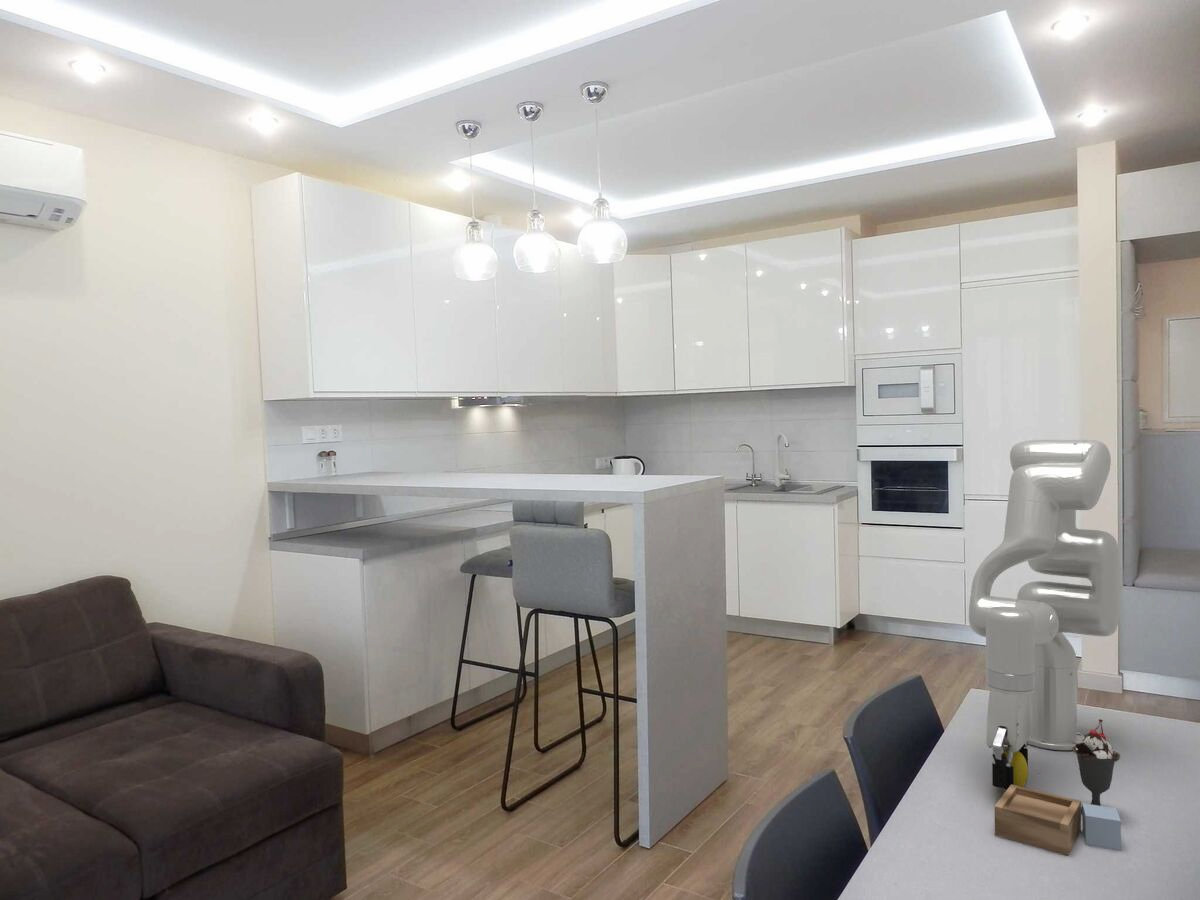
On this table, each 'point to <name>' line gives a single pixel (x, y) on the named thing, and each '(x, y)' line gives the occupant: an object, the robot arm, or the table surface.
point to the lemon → (1019, 768)
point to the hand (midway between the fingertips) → (1010, 778)
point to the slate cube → (1101, 826)
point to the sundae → (1096, 763)
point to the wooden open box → (1038, 819)
